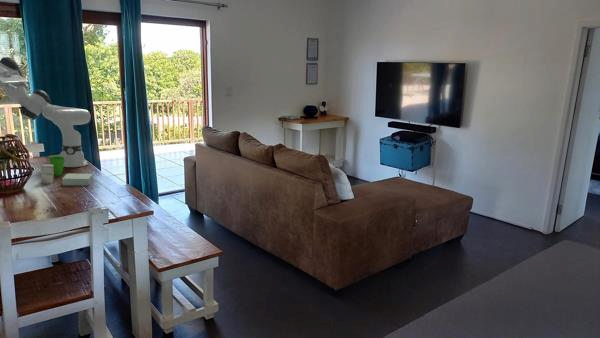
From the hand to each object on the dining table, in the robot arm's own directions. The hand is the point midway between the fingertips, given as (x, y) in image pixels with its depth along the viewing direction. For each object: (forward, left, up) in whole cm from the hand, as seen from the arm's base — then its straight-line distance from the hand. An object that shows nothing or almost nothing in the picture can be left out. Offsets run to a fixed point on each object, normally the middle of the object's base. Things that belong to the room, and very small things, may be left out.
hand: (22, 88), depth 257 cm
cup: (0, +17, -52) cm, 55 cm away
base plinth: (+19, +32, -52) cm, 64 cm away
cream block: (+19, +16, -52) cm, 58 cm away
